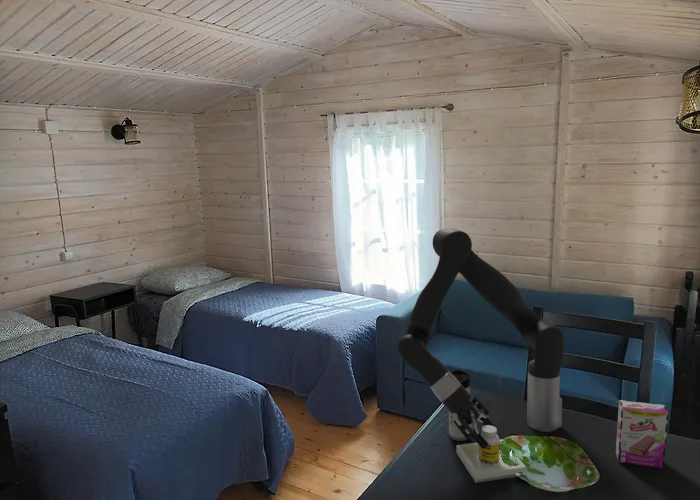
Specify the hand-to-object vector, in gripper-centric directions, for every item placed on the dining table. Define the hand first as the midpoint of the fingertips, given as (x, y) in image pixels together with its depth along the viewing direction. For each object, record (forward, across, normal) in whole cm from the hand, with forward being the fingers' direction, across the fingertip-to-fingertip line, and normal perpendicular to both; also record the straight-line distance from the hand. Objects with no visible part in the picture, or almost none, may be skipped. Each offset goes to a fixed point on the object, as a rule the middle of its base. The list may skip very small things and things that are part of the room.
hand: (490, 439), depth 141 cm
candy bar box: (+30, +19, -20) cm, 41 cm away
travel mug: (-3, +10, +14) cm, 18 cm away
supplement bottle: (+5, 0, +5) cm, 7 cm away
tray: (+5, 0, +6) cm, 8 cm away
